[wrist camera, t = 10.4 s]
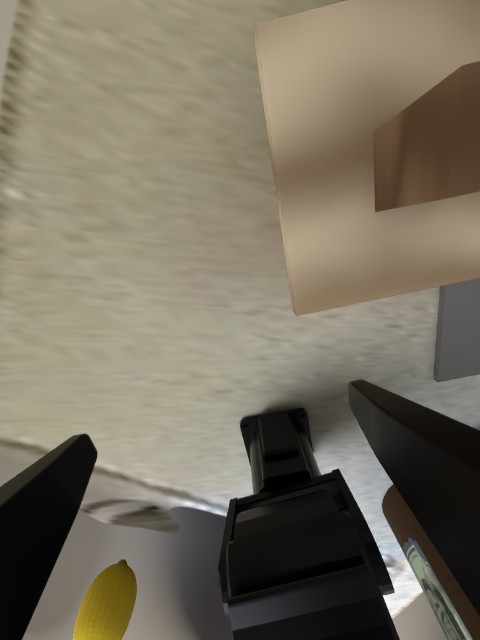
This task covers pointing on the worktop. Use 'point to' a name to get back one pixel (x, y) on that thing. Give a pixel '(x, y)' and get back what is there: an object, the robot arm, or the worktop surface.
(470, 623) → the olive oil
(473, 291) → the mat
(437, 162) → the lid
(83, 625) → the lemon
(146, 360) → the worktop surface
